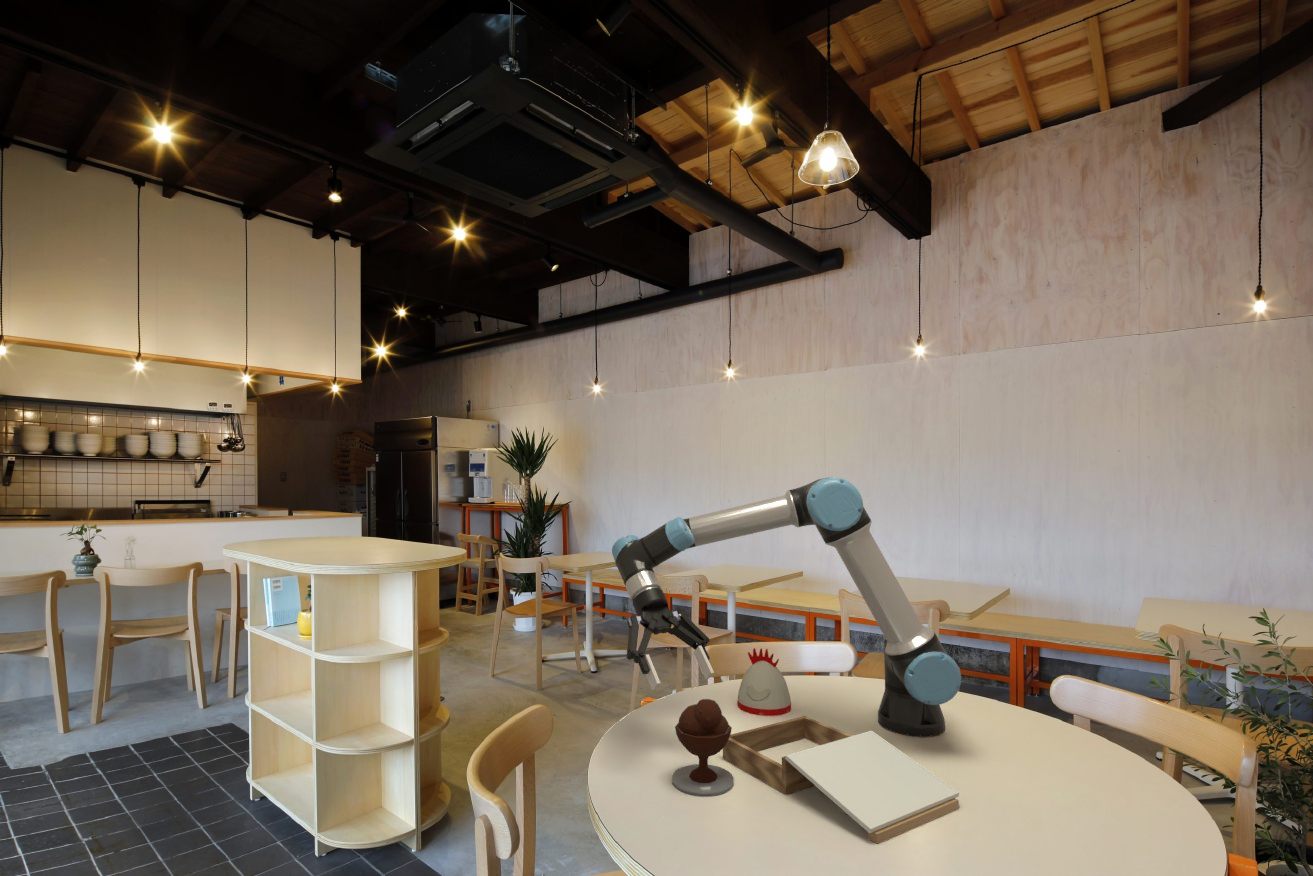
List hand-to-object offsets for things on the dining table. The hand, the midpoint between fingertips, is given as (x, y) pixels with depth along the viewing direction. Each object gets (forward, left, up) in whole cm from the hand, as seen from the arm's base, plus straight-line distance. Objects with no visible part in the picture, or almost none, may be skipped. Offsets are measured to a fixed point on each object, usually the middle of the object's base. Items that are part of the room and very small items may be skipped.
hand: (683, 681), depth 134 cm
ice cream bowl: (-7, +4, -16) cm, 18 cm away
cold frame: (-19, -15, -17) cm, 29 cm away
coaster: (-7, +4, -17) cm, 19 cm away
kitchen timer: (+1, -43, -17) cm, 46 cm away
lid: (-36, -7, -17) cm, 40 cm away
